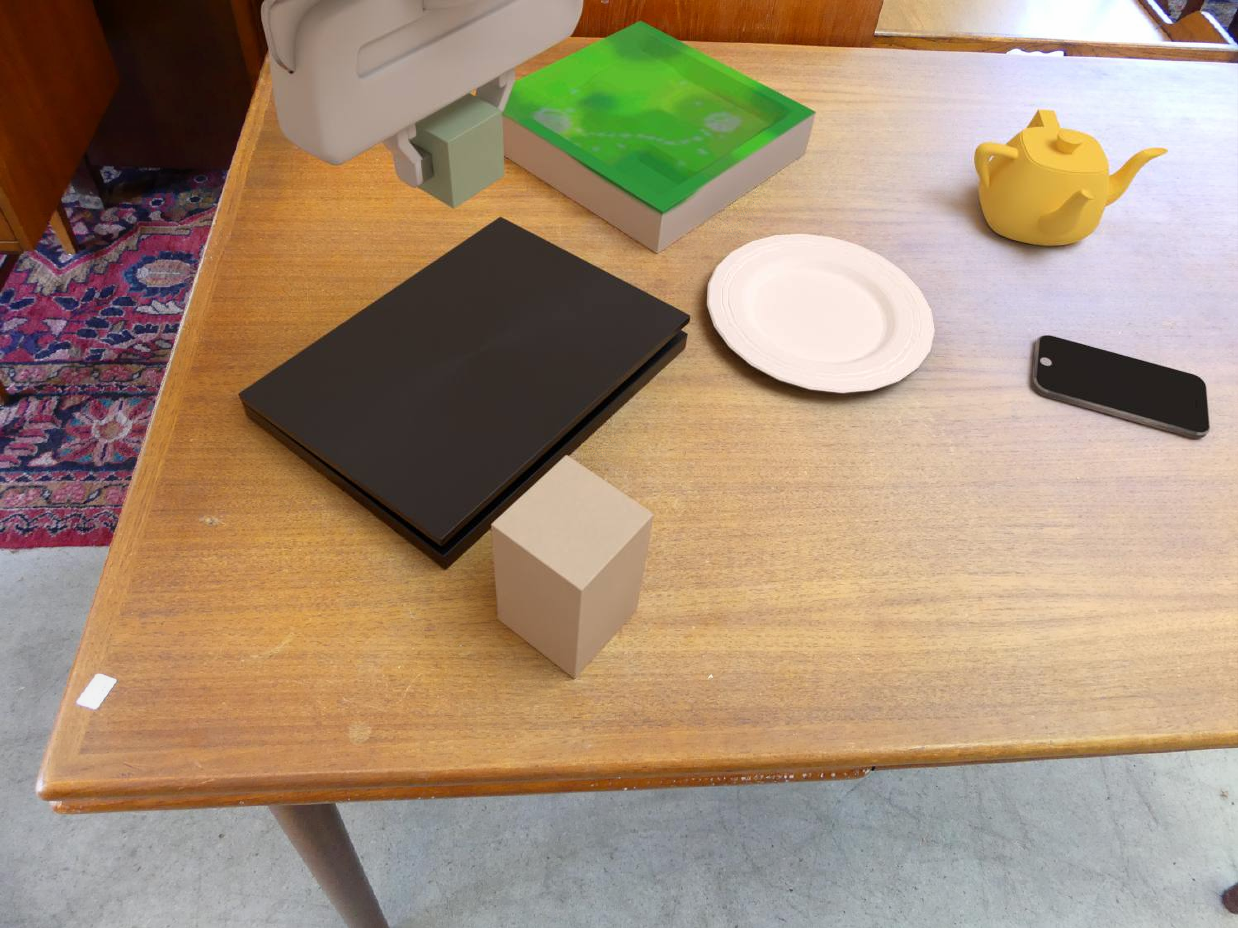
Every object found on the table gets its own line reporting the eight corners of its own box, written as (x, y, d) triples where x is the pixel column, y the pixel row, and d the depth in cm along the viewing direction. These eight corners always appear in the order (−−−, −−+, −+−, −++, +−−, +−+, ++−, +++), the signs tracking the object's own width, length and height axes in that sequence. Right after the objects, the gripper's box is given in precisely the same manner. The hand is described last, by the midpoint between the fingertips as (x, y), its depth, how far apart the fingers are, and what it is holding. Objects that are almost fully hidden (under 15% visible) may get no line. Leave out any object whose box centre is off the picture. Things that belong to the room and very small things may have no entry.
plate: (659, 289, 86) (662, 274, 84) (827, 224, 94) (832, 208, 92) (800, 440, 76) (805, 425, 74) (975, 353, 84) (983, 338, 82)
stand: (574, 679, 62) (581, 590, 52) (497, 619, 64) (490, 523, 54) (637, 608, 65) (654, 513, 56) (562, 554, 67) (566, 454, 58)
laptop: (685, 348, 81) (688, 332, 80) (445, 570, 66) (443, 556, 64) (501, 239, 89) (501, 223, 87) (246, 416, 73) (240, 400, 72)
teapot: (1047, 279, 91) (1095, 195, 83) (940, 209, 97) (976, 124, 89) (1120, 228, 97) (1172, 146, 89) (1015, 165, 102) (1055, 82, 95)
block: (453, 209, 55) (447, 142, 51) (400, 177, 56) (390, 110, 53) (505, 176, 57) (502, 110, 53) (452, 147, 58) (446, 80, 55)
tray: (637, 62, 110) (640, 21, 106) (805, 153, 101) (816, 112, 97) (482, 141, 98) (479, 98, 94) (657, 254, 89) (662, 211, 85)
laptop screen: (689, 323, 79) (690, 315, 78) (441, 547, 64) (440, 540, 63) (501, 224, 87) (500, 216, 87) (240, 401, 72) (237, 393, 71)
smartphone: (1038, 330, 85) (1206, 376, 83) (1035, 336, 85) (1202, 381, 83) (1033, 387, 80) (1211, 437, 78) (1029, 393, 81) (1206, 443, 79)
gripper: (303, 6, 38) (356, 264, 49) (609, -127, 49) (596, 111, 60) (207, -46, 40) (278, 214, 51) (519, -162, 51) (523, 74, 62)
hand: (451, 157), depth 55 cm, fingers closed on block, 4 cm apart
